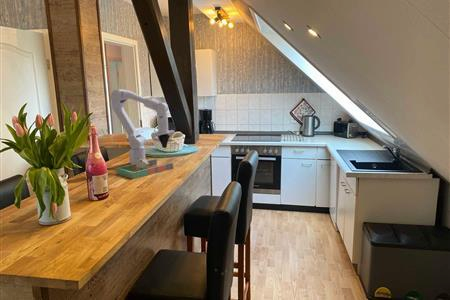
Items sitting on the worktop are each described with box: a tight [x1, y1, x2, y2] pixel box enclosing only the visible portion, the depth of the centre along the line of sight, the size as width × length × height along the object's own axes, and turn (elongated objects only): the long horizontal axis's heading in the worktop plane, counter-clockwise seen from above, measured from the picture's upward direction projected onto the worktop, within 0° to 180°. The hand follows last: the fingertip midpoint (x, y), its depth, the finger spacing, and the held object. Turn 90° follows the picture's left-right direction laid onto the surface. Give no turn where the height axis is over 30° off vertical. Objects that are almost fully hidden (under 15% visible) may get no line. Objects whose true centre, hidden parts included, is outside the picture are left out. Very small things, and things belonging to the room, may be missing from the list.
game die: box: [133, 157, 152, 171], centre depth 172 cm, size 9×8×10 cm
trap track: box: [115, 158, 174, 180], centre depth 176 cm, size 16×25×3 cm, turn 138°
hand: (164, 147), depth 189 cm, fingers closed
